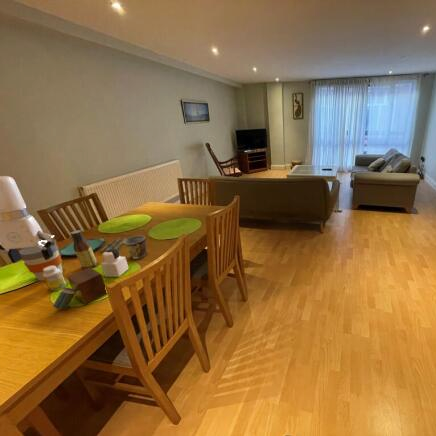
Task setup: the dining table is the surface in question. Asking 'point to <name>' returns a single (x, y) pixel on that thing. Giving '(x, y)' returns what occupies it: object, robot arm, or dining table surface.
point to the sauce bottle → (83, 250)
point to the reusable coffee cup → (40, 260)
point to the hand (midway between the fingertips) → (33, 259)
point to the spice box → (87, 285)
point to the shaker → (64, 298)
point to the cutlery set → (92, 242)
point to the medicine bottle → (113, 263)
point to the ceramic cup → (136, 246)
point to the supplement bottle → (53, 278)
